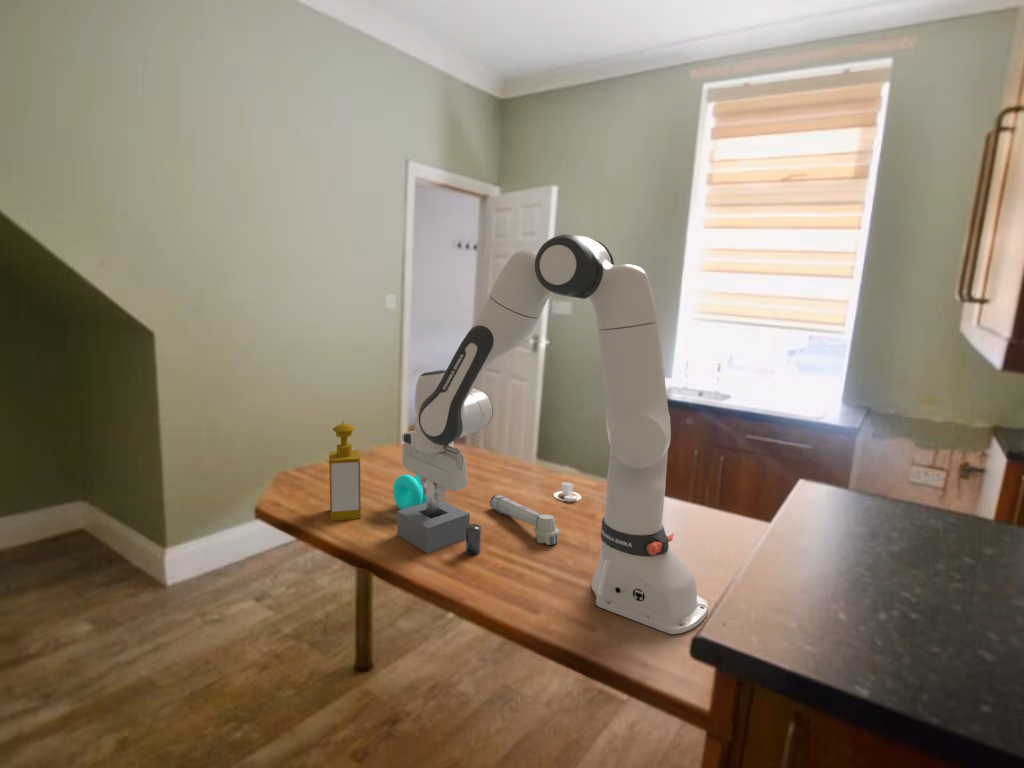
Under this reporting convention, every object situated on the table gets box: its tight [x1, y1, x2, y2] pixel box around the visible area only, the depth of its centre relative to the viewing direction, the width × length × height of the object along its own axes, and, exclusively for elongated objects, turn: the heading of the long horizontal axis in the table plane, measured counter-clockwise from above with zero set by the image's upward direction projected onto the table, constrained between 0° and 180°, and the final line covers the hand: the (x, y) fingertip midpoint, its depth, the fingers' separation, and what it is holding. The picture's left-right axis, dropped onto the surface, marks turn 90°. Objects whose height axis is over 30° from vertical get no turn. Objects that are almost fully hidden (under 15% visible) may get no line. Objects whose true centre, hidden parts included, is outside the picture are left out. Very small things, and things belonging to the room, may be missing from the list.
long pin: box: [426, 479, 440, 519], centre depth 129 cm, size 3×3×13 cm
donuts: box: [392, 474, 426, 510], centre depth 146 cm, size 10×10×10 cm
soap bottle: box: [328, 420, 362, 522], centre depth 142 cm, size 7×13×24 cm, turn 18°
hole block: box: [396, 500, 471, 554], centre depth 130 cm, size 12×12×6 cm
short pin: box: [465, 523, 482, 557], centre depth 124 cm, size 3×3×6 cm
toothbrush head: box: [489, 494, 560, 546], centre depth 138 cm, size 5×7×25 cm
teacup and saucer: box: [553, 481, 582, 503], centre depth 158 cm, size 9×8×4 cm
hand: (433, 497), depth 129 cm, fingers closed on long pin, 3 cm apart
